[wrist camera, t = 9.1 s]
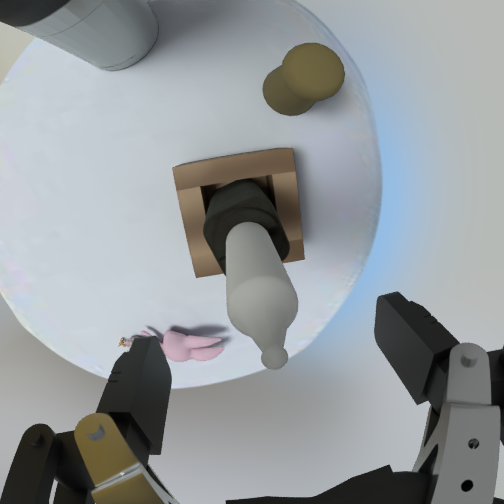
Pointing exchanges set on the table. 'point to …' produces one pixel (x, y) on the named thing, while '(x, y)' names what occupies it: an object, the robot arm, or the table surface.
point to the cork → (303, 79)
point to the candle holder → (224, 172)
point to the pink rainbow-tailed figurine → (184, 346)
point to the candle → (253, 266)
